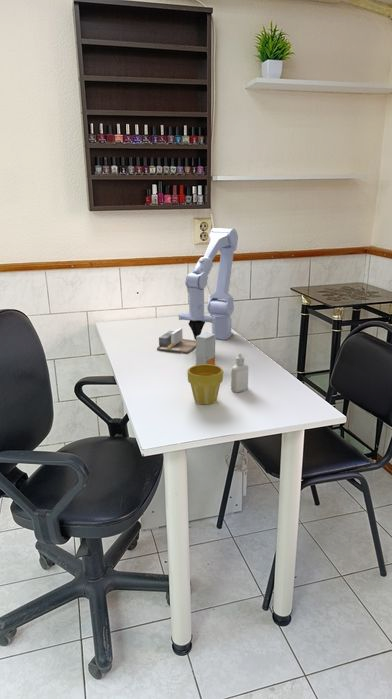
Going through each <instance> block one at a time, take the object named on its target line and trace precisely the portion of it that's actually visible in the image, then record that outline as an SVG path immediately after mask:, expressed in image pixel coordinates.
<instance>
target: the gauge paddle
mask: <svg viewBox="0 0 392 699" xmlns="http://www.w3.org/2000/svg"><path fill="white" fill-rule="evenodd" d="M173 331H174V332H172V333H171V345H170V346H168V348H170V347H171V346H174V345H176V344H177V343H179V342H180V341H182V340H183V339H184V338H183V328H182V327H179V328H177V329H175V330H173Z"/></svg>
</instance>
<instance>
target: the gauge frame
mask: <svg viewBox="0 0 392 699" xmlns="http://www.w3.org/2000/svg"><path fill="white" fill-rule="evenodd" d="M174 331H175V330H169V331H168V332H166V333H163V335H161V336H159V337H158V346H157V347H156V351H163V352H169V353H170V352H171V353H179V354H186V355H187V354H190V353H191V352H192V351H193V350H194V349H195V350H196V340H195V339H186V338H185V339H184V338H183V340H182V341H180V342H179V343H177V344H176V345H174V346H171V347H170V348H168V346H170V345H171V333H172V332H174Z"/></svg>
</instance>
